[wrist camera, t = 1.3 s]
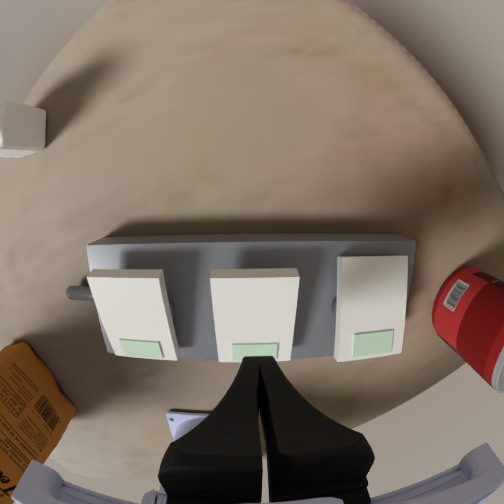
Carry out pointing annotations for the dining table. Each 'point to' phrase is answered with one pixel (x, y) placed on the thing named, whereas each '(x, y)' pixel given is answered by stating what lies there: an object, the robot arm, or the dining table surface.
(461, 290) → the canned food
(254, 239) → the switch strip
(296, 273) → the rocker
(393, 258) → the rocker
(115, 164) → the dining table surface
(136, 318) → the rocker
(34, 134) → the pepper shaker
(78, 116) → the dining table surface
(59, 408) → the coffee package
